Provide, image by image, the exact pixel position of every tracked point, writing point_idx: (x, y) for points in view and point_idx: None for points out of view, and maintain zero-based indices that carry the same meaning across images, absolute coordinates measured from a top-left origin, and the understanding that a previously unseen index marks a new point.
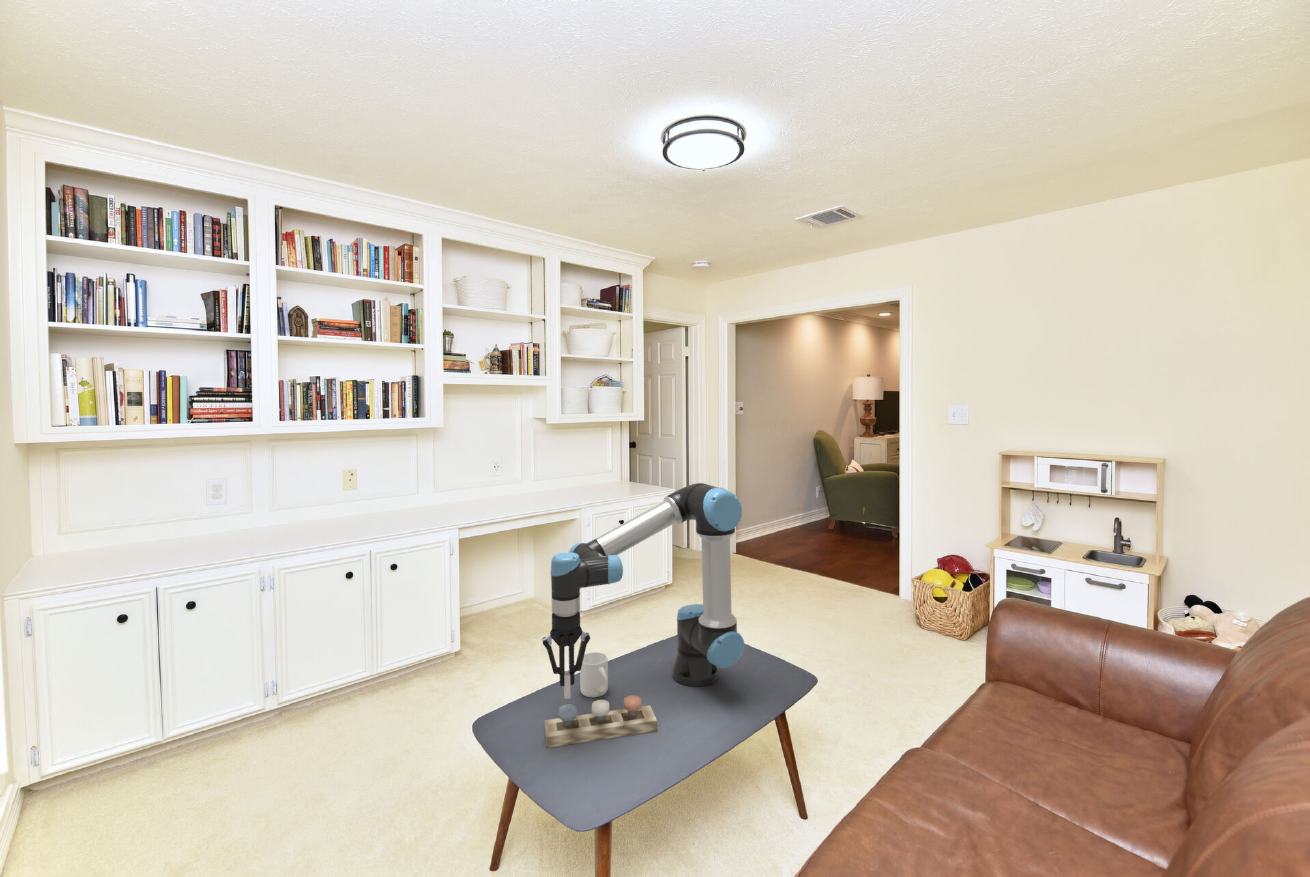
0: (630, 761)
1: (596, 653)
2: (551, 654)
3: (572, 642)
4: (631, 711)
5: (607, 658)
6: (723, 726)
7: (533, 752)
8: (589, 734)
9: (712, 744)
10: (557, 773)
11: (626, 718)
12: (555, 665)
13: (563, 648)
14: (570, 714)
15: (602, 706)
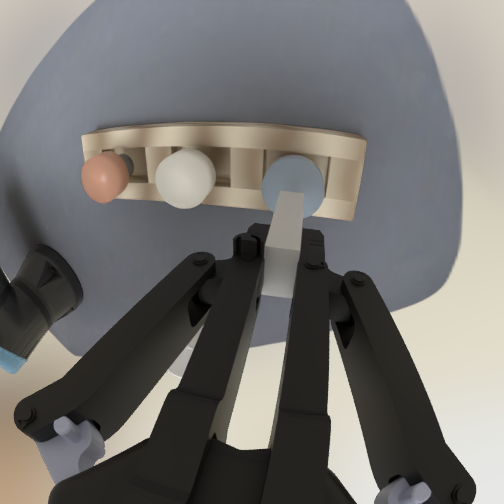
0: (164, 28)
1: (179, 374)
2: (404, 396)
3: (159, 467)
4: (113, 152)
5: None
6: (20, 130)
7: (395, 132)
8: (241, 124)
9: (35, 81)
10: (349, 27)
11: (144, 177)
12: (363, 313)
13: (287, 438)
14: (288, 160)
15: (175, 168)
